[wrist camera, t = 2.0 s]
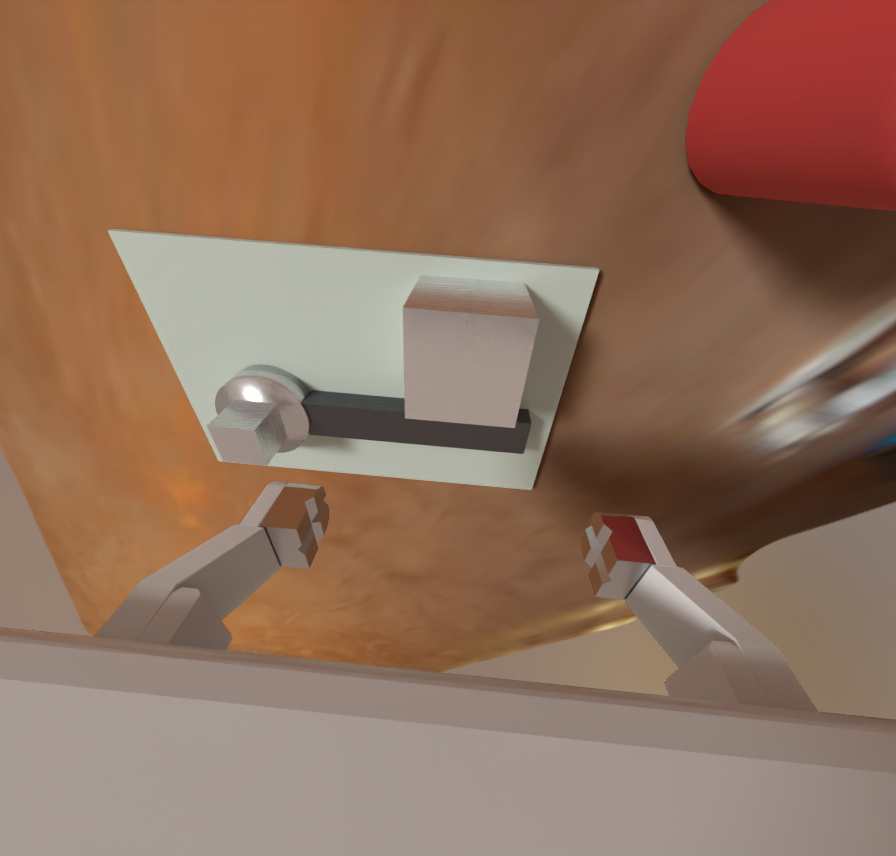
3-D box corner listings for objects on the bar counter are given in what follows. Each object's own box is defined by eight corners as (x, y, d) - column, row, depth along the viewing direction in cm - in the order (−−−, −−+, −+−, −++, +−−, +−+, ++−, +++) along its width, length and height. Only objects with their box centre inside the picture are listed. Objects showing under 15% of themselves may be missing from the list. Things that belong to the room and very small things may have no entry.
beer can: (765, 213, 17) (1120, 264, 8) (648, 171, 17) (881, 171, 7) (902, 23, 13) (1970, -351, 4) (756, -43, 13) (1618, -700, 3)
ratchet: (220, 360, 24) (167, 400, 20) (533, 387, 24) (545, 433, 19) (247, 431, 28) (207, 476, 24) (516, 455, 27) (523, 506, 23)
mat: (116, 228, 20) (107, 230, 19) (596, 267, 19) (599, 269, 19) (222, 456, 31) (218, 461, 30) (530, 485, 30) (531, 490, 30)
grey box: (420, 274, 20) (402, 307, 15) (524, 282, 19) (539, 318, 15) (419, 367, 23) (404, 418, 18) (506, 375, 23) (514, 428, 18)
